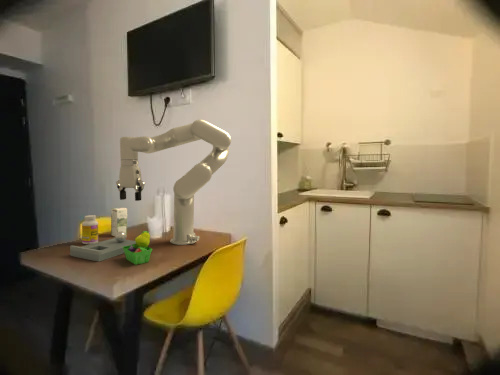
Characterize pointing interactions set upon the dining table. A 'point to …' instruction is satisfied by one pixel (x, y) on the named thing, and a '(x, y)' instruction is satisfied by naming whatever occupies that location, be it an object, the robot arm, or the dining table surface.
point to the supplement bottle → (90, 230)
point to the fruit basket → (139, 249)
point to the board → (100, 249)
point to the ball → (120, 236)
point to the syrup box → (118, 220)
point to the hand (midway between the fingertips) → (130, 199)
